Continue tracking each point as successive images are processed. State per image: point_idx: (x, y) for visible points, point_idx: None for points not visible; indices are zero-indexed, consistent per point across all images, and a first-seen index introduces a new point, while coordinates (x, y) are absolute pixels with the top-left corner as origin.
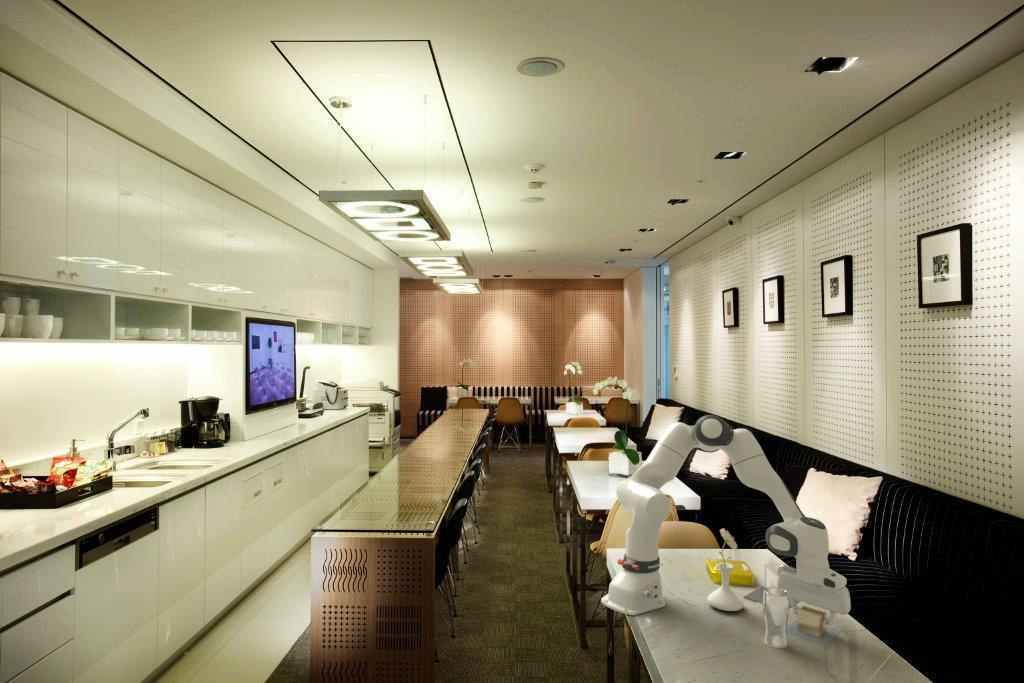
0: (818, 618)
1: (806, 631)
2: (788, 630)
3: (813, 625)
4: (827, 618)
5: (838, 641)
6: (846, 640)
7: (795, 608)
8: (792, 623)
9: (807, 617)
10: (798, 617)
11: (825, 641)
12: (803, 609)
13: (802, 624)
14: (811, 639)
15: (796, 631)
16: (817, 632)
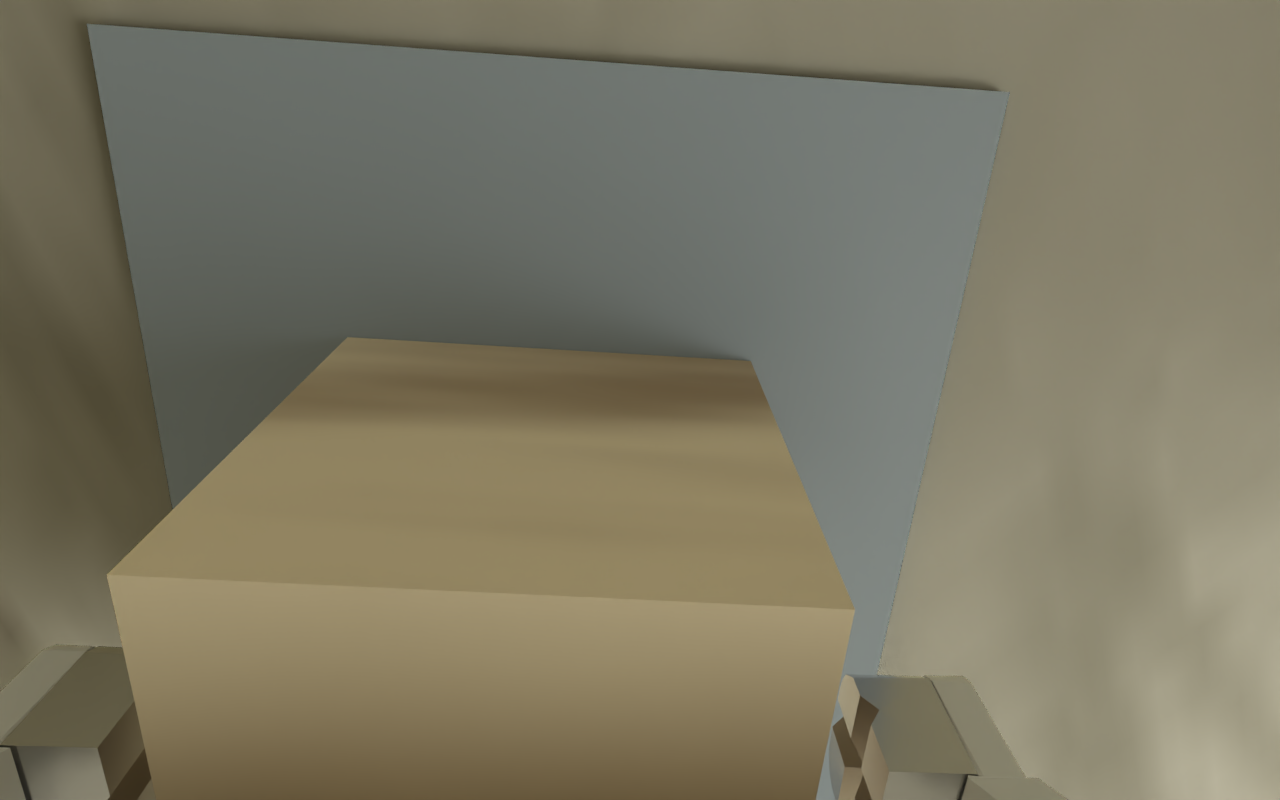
0: (139, 548)
1: (575, 361)
2: (890, 198)
3: (390, 429)
4: (55, 765)
5: (74, 468)
6: (23, 593)
7: (950, 772)
8: (892, 547)
9: (523, 516)
10: (778, 482)
11: (183, 267)
12: (714, 776)
13: (661, 412)
14: (398, 136)
15: (748, 280)
16: (336, 370)
